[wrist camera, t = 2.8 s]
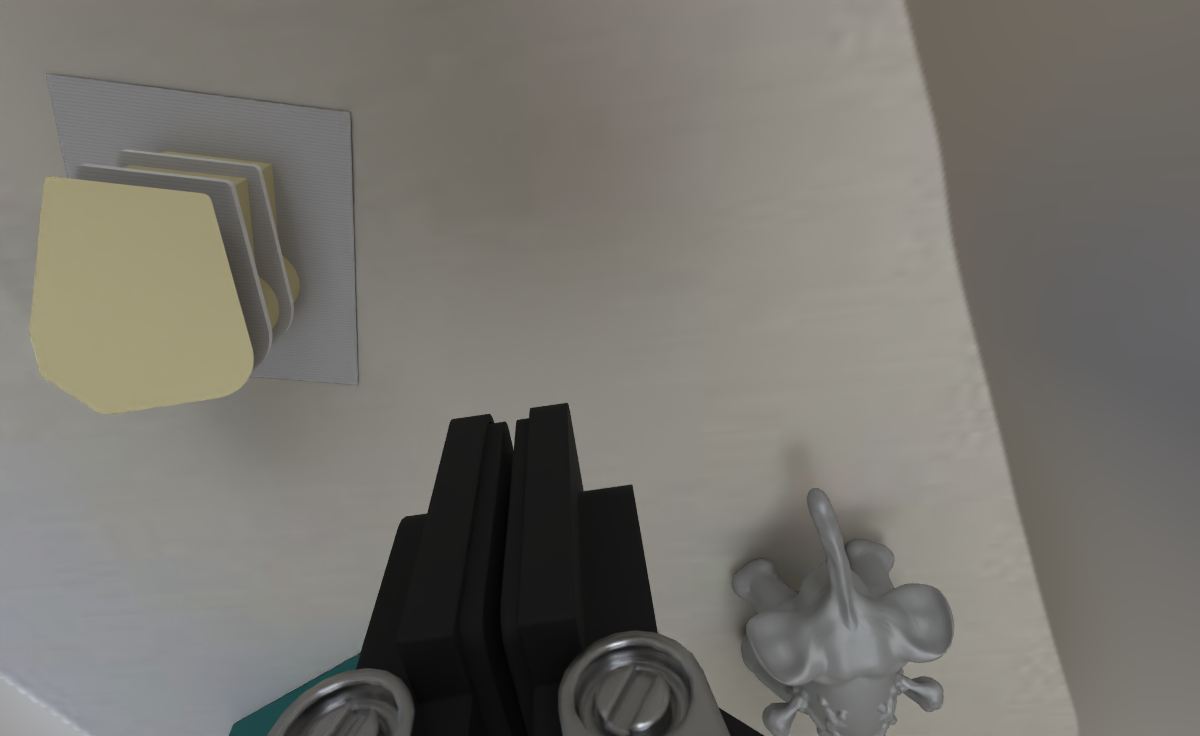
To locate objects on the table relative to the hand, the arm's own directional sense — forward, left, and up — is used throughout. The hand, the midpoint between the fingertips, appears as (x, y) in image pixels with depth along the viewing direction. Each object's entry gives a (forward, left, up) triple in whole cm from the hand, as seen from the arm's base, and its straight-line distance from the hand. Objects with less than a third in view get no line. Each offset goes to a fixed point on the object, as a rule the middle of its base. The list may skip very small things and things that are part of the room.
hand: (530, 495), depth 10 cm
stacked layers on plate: (0, -11, -16) cm, 19 cm away
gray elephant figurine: (+18, +9, -16) cm, 25 cm away
